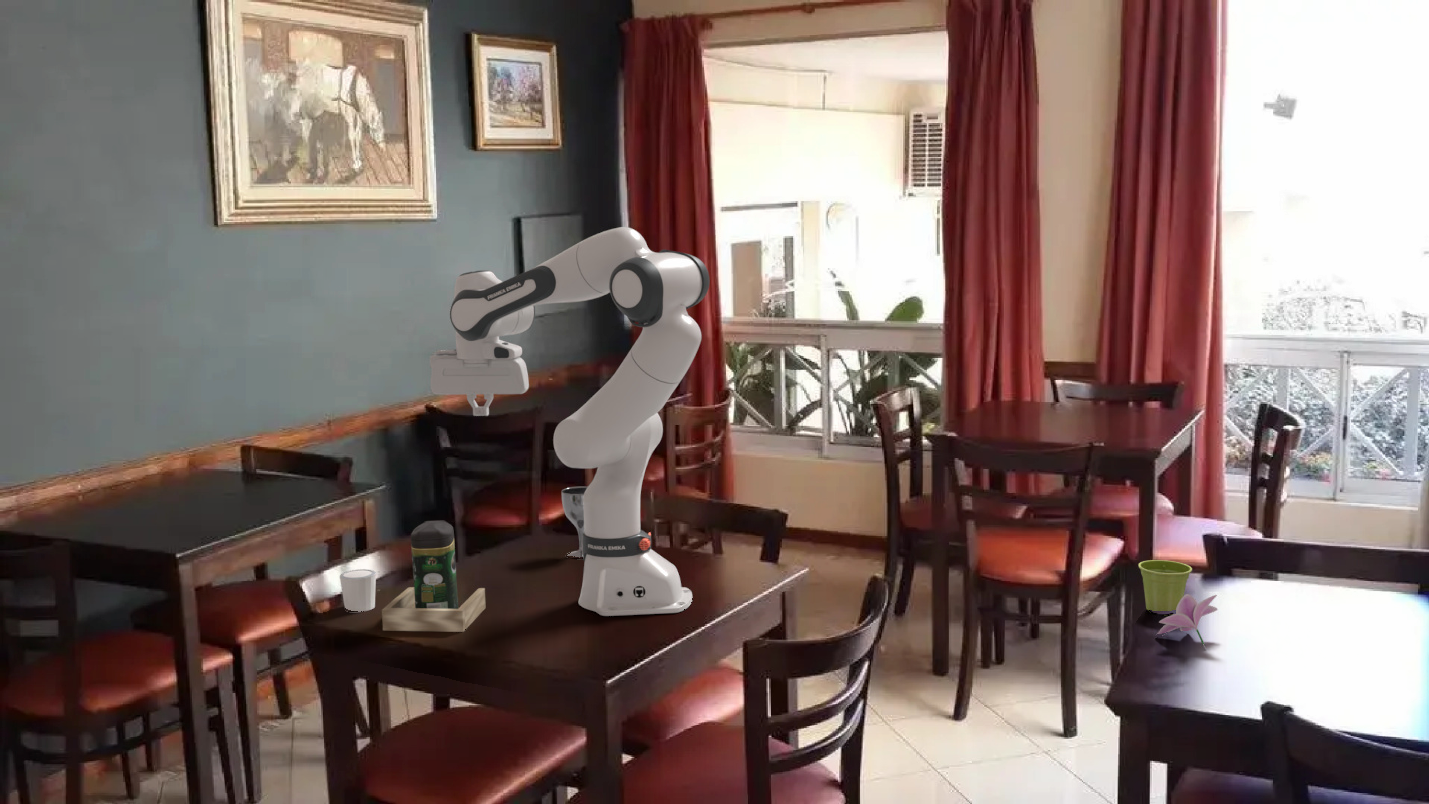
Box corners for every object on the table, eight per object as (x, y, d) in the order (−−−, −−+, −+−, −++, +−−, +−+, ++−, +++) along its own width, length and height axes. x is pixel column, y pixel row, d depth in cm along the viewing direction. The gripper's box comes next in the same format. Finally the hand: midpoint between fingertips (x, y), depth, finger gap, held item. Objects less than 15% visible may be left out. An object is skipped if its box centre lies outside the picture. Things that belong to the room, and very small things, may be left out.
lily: (1228, 642, 216) (1206, 590, 218) (1244, 638, 204) (1221, 583, 207) (1161, 663, 217) (1141, 611, 219) (1173, 659, 205) (1152, 604, 208)
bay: (485, 607, 240) (484, 588, 239) (463, 631, 226) (462, 610, 226) (409, 606, 242) (408, 587, 241) (383, 630, 228) (381, 609, 227)
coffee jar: (420, 610, 239) (414, 518, 236) (461, 609, 240) (456, 516, 237) (411, 626, 230) (406, 530, 227) (454, 625, 230) (449, 528, 227)
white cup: (383, 602, 245) (381, 568, 244) (370, 613, 238) (368, 578, 237) (350, 602, 246) (347, 568, 244) (336, 613, 239) (333, 578, 238)
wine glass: (564, 551, 281) (561, 487, 279) (599, 549, 282) (596, 485, 279) (563, 560, 273) (561, 494, 271) (599, 558, 274) (597, 493, 272)
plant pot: (1145, 600, 237) (1146, 557, 235) (1196, 608, 231) (1197, 564, 230) (1130, 613, 229) (1132, 568, 228) (1182, 622, 224) (1184, 576, 222)
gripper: (424, 351, 251) (427, 417, 253) (521, 350, 249) (524, 417, 251) (434, 348, 257) (437, 413, 259) (529, 347, 255) (532, 412, 257)
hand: (481, 415), depth 255 cm, fingers closed
